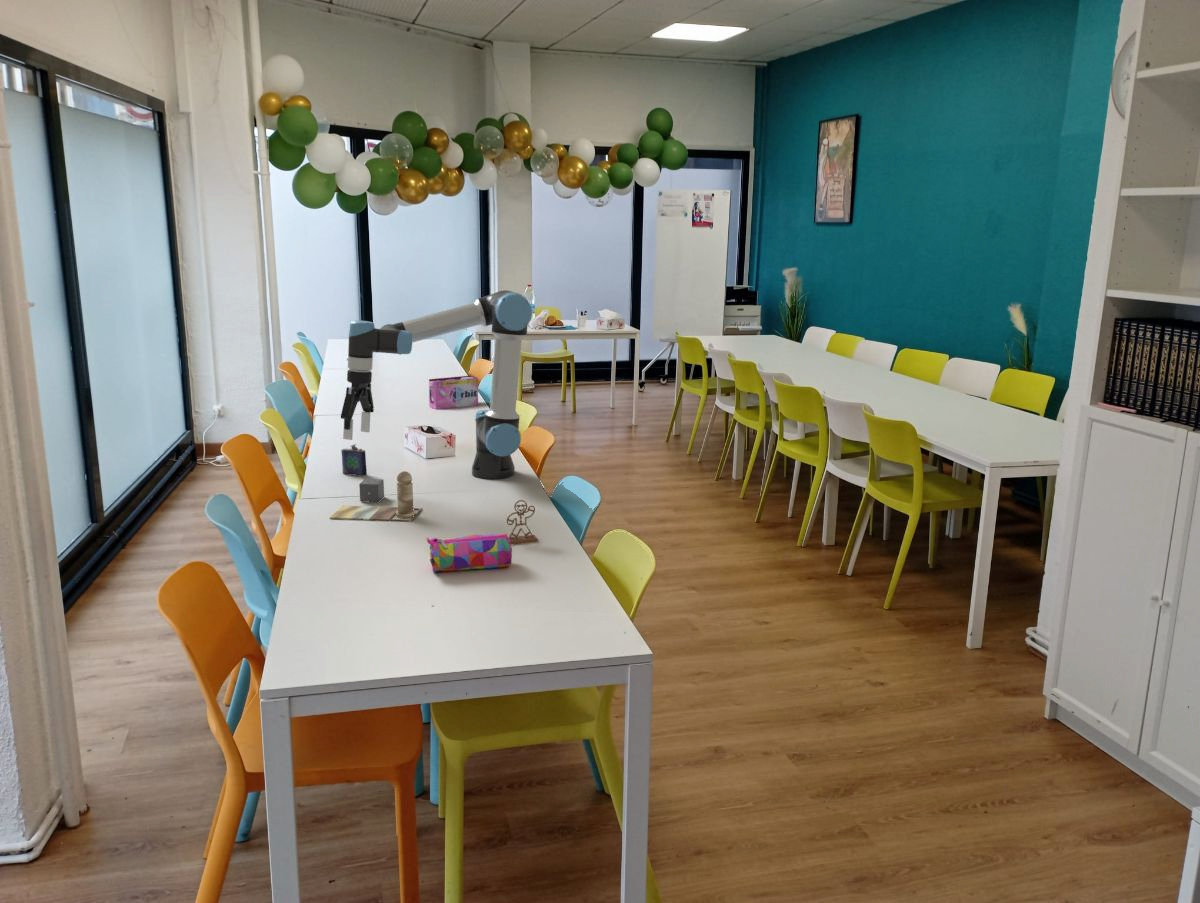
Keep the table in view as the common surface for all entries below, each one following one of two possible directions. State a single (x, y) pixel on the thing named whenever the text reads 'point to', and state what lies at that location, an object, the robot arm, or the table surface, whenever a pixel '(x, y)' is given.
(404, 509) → the pawn
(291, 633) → the table surface
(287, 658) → the table surface
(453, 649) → the table surface
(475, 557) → the pencil case
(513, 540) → the gingerbread man figurine
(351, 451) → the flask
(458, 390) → the gum box
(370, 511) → the board
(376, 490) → the die
